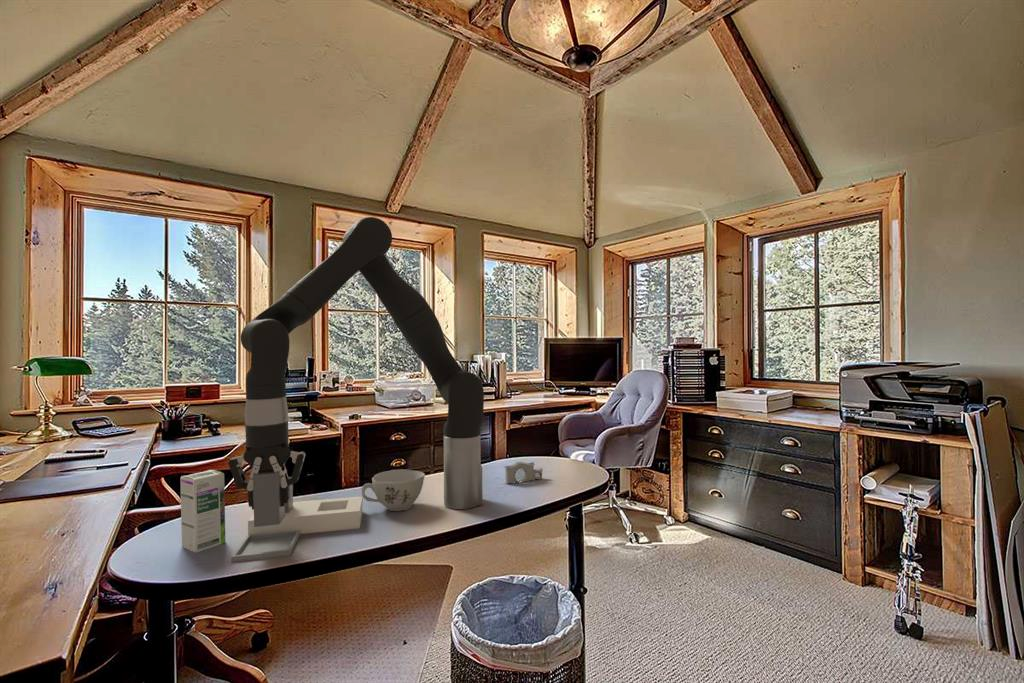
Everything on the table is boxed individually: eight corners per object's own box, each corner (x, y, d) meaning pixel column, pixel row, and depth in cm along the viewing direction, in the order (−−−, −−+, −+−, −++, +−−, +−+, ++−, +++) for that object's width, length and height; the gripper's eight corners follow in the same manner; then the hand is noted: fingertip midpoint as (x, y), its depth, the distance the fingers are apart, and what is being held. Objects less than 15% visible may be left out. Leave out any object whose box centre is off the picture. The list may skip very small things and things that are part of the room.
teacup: (418, 496, 125) (418, 466, 125) (430, 511, 113) (430, 478, 113) (358, 504, 119) (358, 472, 119) (364, 521, 107) (364, 486, 107)
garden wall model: (540, 478, 141) (540, 458, 141) (543, 479, 139) (543, 459, 139) (504, 483, 136) (504, 463, 136) (506, 485, 134) (506, 464, 134)
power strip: (362, 513, 113) (362, 463, 113) (359, 529, 103) (359, 475, 103) (261, 522, 107) (260, 470, 107) (248, 540, 98) (247, 483, 98)
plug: (284, 515, 96) (283, 459, 96) (279, 524, 92) (278, 464, 92) (260, 518, 95) (258, 461, 95) (254, 527, 91) (252, 466, 91)
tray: (299, 536, 100) (299, 530, 100) (289, 556, 90) (289, 550, 90) (247, 541, 97) (247, 535, 97) (231, 563, 88) (231, 556, 88)
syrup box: (195, 554, 91) (194, 479, 91) (180, 547, 94) (179, 474, 94) (225, 543, 96) (225, 472, 96) (211, 537, 99) (210, 468, 99)
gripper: (309, 415, 99) (311, 497, 99) (232, 419, 95) (235, 504, 95) (302, 421, 92) (304, 509, 92) (219, 426, 88) (222, 518, 88)
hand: (269, 506), depth 94 cm, fingers closed on plug, 4 cm apart
